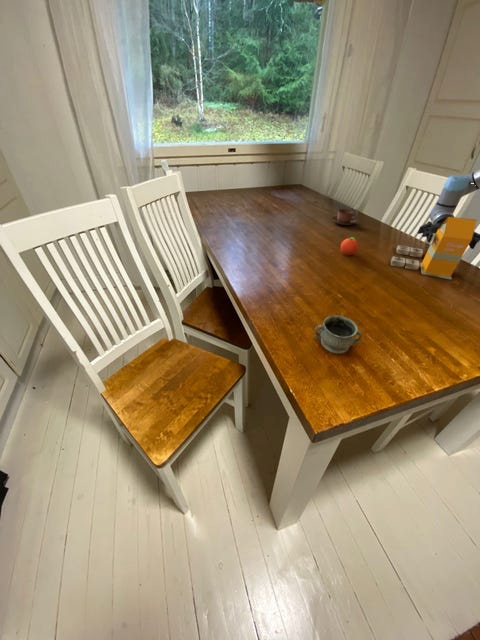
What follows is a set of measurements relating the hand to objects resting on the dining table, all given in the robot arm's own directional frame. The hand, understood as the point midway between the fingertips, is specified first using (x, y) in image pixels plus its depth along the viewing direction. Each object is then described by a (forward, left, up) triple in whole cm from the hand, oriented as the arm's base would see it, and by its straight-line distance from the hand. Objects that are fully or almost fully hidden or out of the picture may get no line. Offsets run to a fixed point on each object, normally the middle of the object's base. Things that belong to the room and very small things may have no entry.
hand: (451, 241), depth 97 cm
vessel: (+29, +57, -13) cm, 65 cm away
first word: (+9, -14, -12) cm, 21 cm away
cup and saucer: (+40, -40, -13) cm, 58 cm away
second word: (+5, -1, -12) cm, 13 cm away
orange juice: (0, -1, -12) cm, 12 cm away
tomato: (+33, -2, -13) cm, 35 cm away
